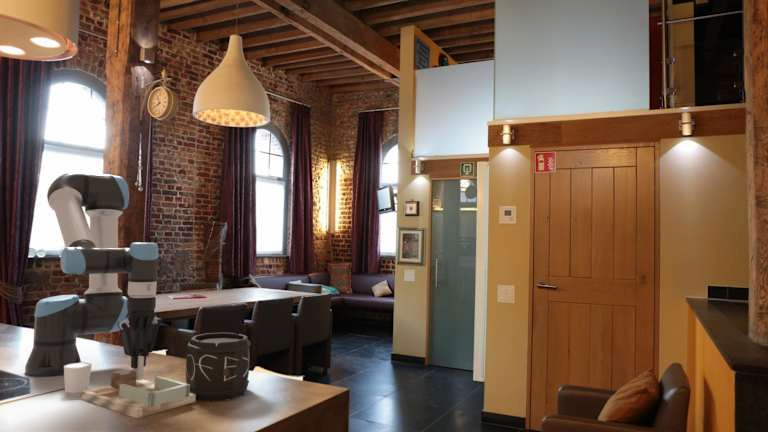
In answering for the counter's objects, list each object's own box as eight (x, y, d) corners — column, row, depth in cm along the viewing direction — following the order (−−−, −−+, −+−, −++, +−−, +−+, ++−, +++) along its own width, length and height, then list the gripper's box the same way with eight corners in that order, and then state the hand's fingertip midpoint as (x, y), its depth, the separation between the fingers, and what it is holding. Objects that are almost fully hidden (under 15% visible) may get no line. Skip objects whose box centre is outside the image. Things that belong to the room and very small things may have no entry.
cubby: (119, 396, 142) (119, 384, 142) (158, 386, 152) (158, 376, 152) (150, 406, 135) (151, 394, 135) (189, 395, 144) (190, 384, 144)
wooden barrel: (188, 406, 142) (191, 345, 143) (179, 387, 158) (182, 333, 159) (256, 398, 151) (259, 341, 151) (242, 382, 167) (244, 330, 167)
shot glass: (96, 388, 155) (97, 363, 155) (75, 394, 148) (76, 369, 149) (77, 385, 157) (79, 361, 157) (56, 391, 151) (57, 366, 151)
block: (110, 386, 150) (111, 372, 150) (126, 383, 154) (126, 369, 154) (120, 389, 148) (121, 374, 148) (135, 386, 151) (136, 371, 152)
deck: (81, 398, 145) (81, 391, 145) (139, 385, 159) (140, 378, 159) (137, 418, 132) (137, 410, 132) (195, 401, 146) (195, 394, 146)
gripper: (128, 299, 149) (124, 386, 148) (169, 295, 160) (165, 376, 159) (112, 296, 153) (108, 381, 152) (154, 293, 164) (149, 372, 163)
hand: (137, 378), depth 155 cm, fingers closed
